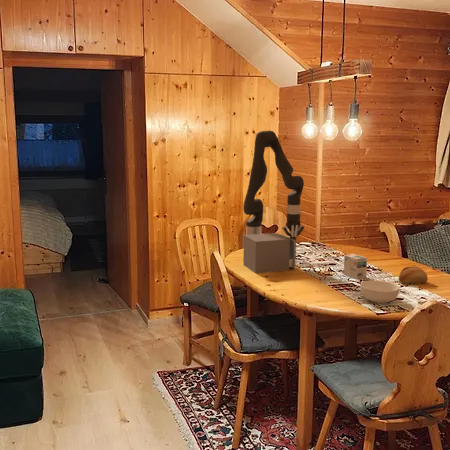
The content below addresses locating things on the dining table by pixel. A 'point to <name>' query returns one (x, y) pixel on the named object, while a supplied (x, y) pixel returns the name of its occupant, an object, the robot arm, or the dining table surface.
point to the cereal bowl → (379, 291)
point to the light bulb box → (355, 266)
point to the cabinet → (266, 252)
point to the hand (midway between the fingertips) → (292, 243)
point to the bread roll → (413, 275)
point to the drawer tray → (292, 252)
